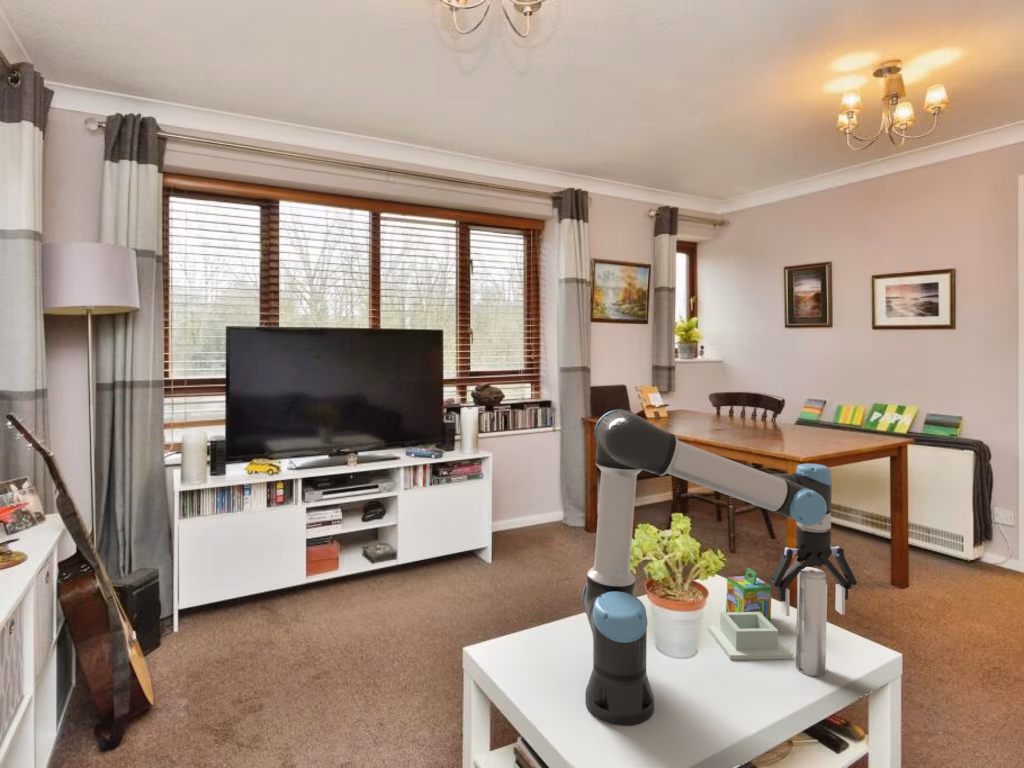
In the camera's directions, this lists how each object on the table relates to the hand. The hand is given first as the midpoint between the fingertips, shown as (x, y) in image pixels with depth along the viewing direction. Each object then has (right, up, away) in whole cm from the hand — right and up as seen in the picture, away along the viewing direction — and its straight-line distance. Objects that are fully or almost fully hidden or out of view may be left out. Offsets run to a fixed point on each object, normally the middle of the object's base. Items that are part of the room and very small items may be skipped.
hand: (812, 613), depth 142 cm
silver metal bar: (0, -15, +1) cm, 15 cm away
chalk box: (-5, -13, +28) cm, 31 cm away
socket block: (-10, -14, +14) cm, 22 cm away
